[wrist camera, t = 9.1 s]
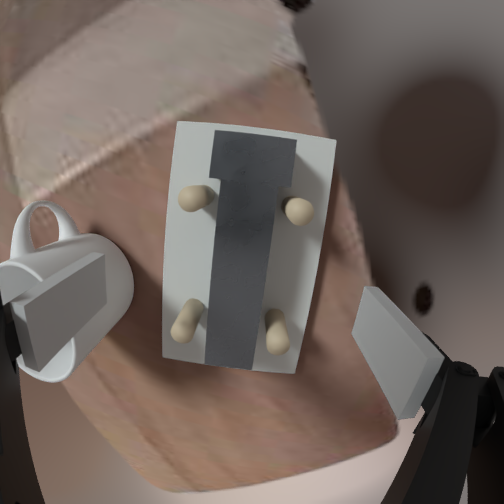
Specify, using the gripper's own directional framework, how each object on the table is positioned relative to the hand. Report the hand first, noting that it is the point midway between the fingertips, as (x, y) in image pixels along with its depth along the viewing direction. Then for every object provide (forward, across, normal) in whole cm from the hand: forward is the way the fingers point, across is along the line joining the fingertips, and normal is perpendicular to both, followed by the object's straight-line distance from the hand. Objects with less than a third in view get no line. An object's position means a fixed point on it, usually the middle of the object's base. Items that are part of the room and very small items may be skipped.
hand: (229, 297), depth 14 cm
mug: (+10, -13, -3) cm, 17 cm away
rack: (+10, 0, -1) cm, 10 cm away
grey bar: (+9, 0, 0) cm, 9 cm away
